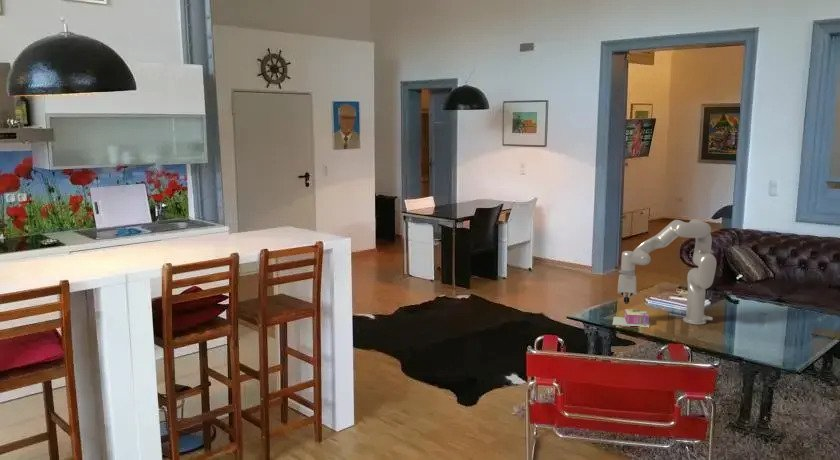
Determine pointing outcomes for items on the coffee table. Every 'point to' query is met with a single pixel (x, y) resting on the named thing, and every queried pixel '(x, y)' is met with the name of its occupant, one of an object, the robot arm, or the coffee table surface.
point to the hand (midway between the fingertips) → (626, 303)
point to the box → (636, 316)
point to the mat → (623, 322)
